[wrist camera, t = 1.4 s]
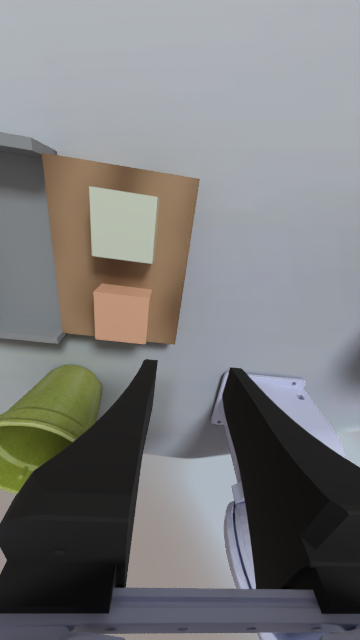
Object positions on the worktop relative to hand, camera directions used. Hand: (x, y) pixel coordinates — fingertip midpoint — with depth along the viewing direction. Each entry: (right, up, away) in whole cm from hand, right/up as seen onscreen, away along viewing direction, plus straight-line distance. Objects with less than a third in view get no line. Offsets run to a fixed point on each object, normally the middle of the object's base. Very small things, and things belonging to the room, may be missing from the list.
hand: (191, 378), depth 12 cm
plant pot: (-12, -4, +13) cm, 18 cm away
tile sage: (-4, +10, +4) cm, 11 cm away
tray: (-14, +9, +6) cm, 18 cm away
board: (-5, +8, +7) cm, 12 cm away
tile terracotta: (-5, +4, +7) cm, 9 cm away
